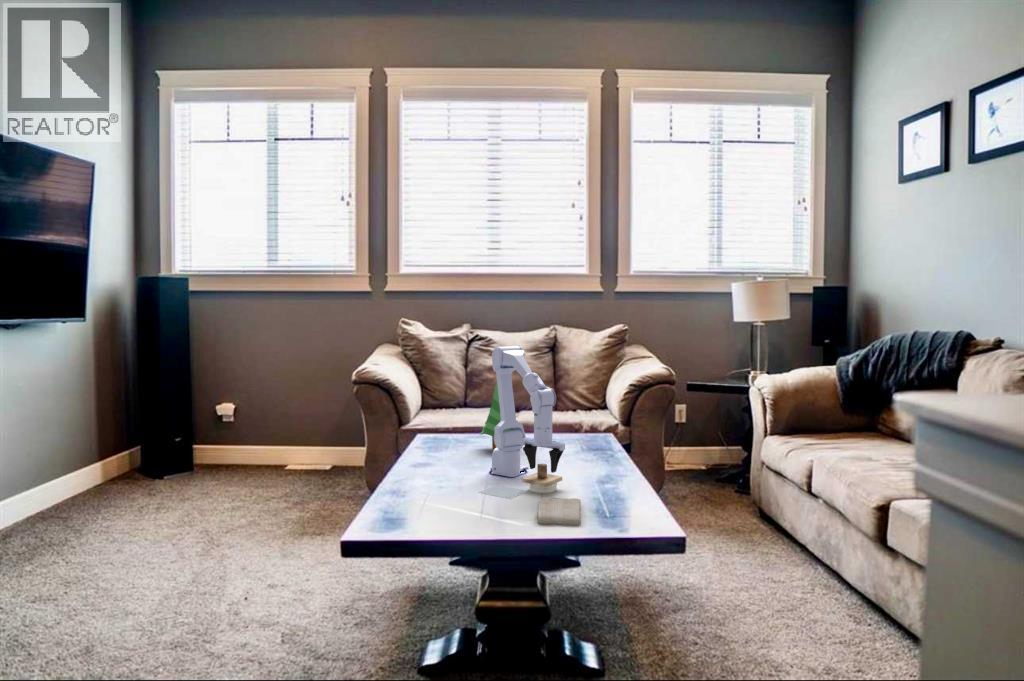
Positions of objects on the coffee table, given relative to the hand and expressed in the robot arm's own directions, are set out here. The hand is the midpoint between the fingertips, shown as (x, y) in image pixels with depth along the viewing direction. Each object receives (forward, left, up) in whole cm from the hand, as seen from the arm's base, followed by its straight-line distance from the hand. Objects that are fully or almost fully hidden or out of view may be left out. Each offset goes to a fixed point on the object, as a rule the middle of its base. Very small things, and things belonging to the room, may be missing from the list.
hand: (543, 470), depth 201 cm
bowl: (0, 0, -7) cm, 7 cm away
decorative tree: (-43, +38, -7) cm, 58 cm away
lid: (0, 0, -3) cm, 3 cm away
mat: (-9, -9, -7) cm, 14 cm away
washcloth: (+15, -16, -7) cm, 23 cm away
